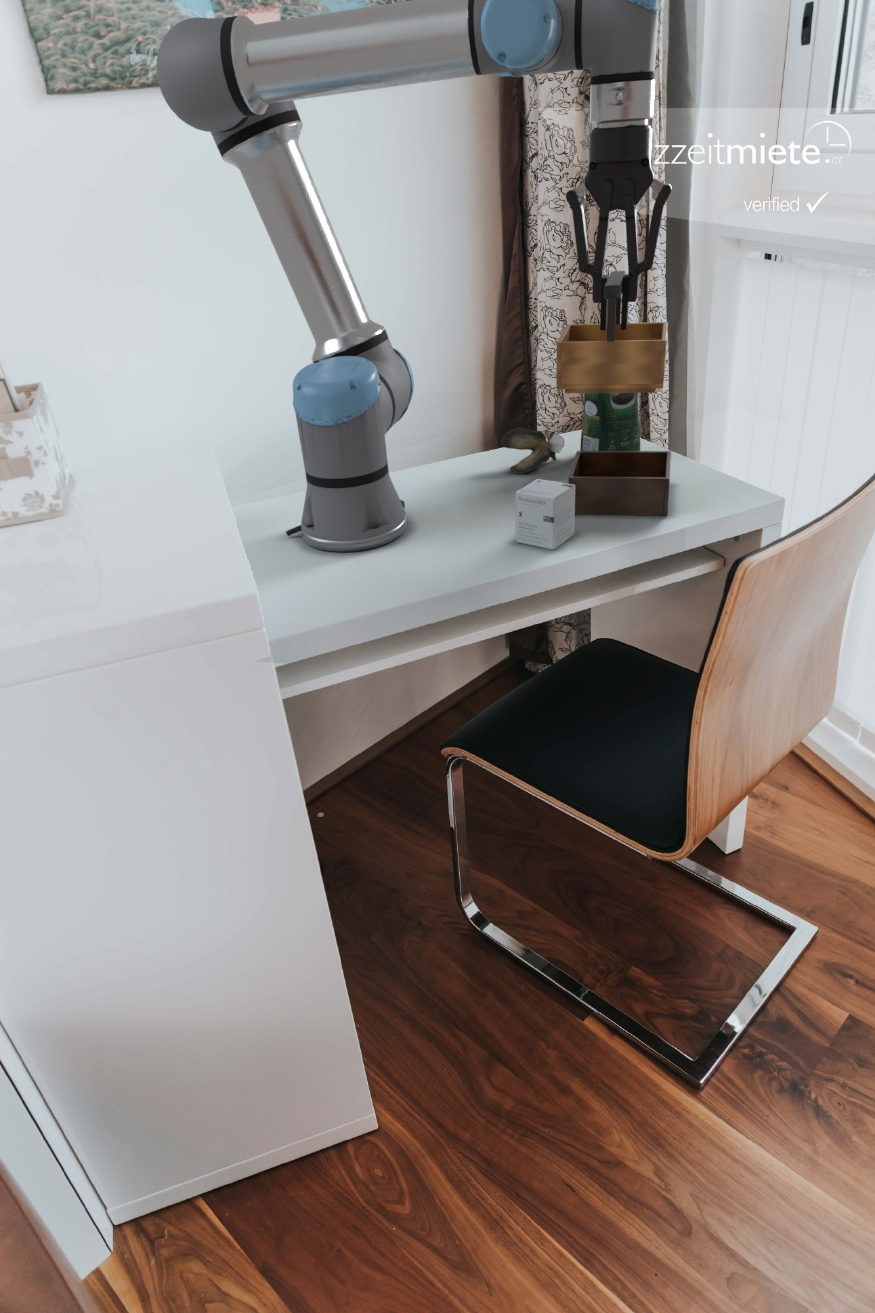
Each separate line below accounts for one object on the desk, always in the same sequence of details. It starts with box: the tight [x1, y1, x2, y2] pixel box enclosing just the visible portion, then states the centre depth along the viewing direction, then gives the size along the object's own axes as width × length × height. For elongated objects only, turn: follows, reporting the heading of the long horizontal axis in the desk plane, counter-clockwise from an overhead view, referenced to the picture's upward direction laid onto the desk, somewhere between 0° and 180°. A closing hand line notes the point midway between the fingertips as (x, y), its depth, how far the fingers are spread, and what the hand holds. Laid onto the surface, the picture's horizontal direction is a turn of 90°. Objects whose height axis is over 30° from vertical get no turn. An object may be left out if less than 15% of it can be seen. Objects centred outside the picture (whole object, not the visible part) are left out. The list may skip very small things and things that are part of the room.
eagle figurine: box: [500, 426, 566, 475], centre depth 145 cm, size 8×7×9 cm
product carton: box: [515, 478, 576, 550], centre depth 119 cm, size 6×6×7 cm
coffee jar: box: [579, 393, 641, 451], centre depth 144 cm, size 10×8×19 cm
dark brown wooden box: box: [567, 450, 672, 517], centre depth 130 cm, size 14×12×6 cm
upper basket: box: [555, 270, 669, 394], centre depth 119 cm, size 14×12×14 cm
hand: (613, 327), depth 119 cm, fingers closed on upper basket, 2 cm apart
